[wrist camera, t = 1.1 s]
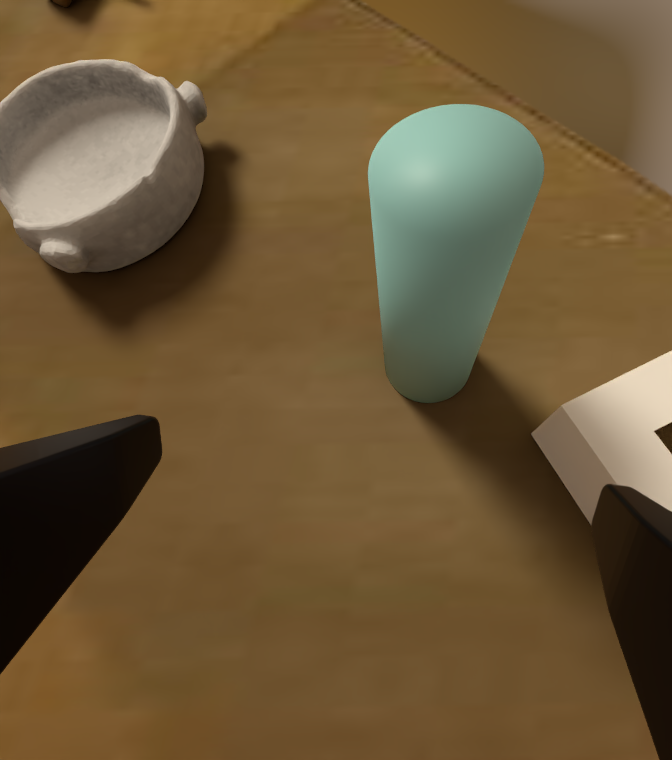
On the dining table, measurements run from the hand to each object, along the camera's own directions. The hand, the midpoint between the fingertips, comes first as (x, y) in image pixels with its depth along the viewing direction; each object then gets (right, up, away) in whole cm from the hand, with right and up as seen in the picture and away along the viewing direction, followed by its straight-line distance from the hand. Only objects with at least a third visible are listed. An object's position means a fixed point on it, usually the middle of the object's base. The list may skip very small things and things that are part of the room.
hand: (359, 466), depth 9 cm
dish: (-15, +15, +22) cm, 31 cm away
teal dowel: (+4, +3, +15) cm, 15 cm away
